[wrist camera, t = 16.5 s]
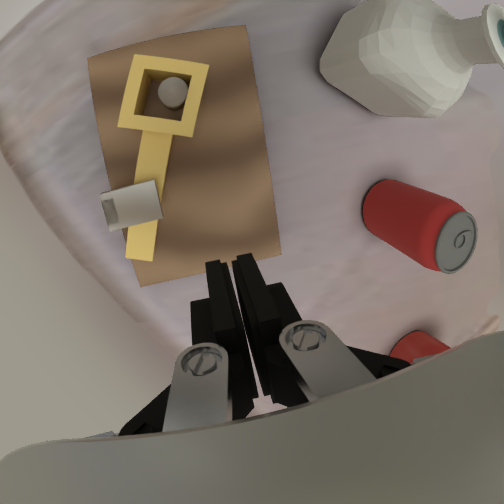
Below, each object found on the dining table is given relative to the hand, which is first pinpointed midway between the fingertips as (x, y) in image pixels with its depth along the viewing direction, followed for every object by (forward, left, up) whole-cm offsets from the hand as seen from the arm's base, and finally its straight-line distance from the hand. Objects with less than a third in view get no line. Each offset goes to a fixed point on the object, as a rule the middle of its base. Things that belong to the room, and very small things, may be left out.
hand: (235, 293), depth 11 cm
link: (-4, -4, -18) cm, 18 cm away
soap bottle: (-11, +18, -19) cm, 29 cm away
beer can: (+5, +19, -19) cm, 28 cm away
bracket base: (-4, -1, -19) cm, 19 cm away
